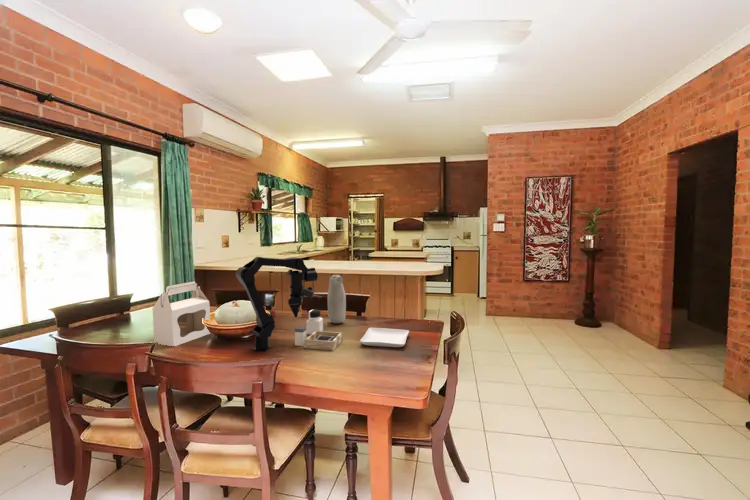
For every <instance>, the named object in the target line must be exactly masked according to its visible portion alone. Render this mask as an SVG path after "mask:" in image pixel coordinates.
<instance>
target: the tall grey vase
mask: <svg viewBox="0 0 750 500" xmlns="http://www.w3.org/2000/svg"><path fill="white" fill-rule="evenodd" d="M343 281H344V279H343V277H342V276H341V275H340V274H332V275H331V276H330V278H329V287H328V291H327V315H328V316H327V317H328V319H329V321H330V322H331V323H332V324H335V325H336V324H337V325H338V324H341V323H343V322H344V321H345V319H346V314H347V294H346V291H345V287H344V283H343Z"/></svg>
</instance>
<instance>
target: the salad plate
mask: <svg viewBox="0 0 750 500" xmlns="http://www.w3.org/2000/svg"><path fill="white" fill-rule="evenodd" d="M409 333H410V330H408V329H401V328H400V329H398V328H388V327H387V328H385V327H384V328H383V327H368V329H367V330H366V332H365V333H364V334H363V336H362V337H361V339H360V340H359V343H360V344H362V345H365V346H370V347H382V348H402V347H404V346H405V344H406V341H407V338H408V335H409Z"/></svg>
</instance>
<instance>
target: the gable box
mask: <svg viewBox="0 0 750 500" xmlns="http://www.w3.org/2000/svg"><path fill="white" fill-rule="evenodd" d="M164 289H165V290H164V292H162V293H160V296H159V297H158V299H157V301H156V302H155V304H154V306H153V307H152V322H153V325H152V327H153V340H154V341H153V343H154V342H158V344H157V345H160V344H161V346H166V345H167V346H166V347H171V346H172V347H173V346H175V347H178V346H180V345H182V344H185V343H188V342H191V341H193V340H194V341H195V340H196V339H200V338H202V337H205V336H207V335H210V334H211V333H210V332H209V330H208V329H207V327H206V326H205V325H203V324H202V318H204V320H210V321H211V310H210V309H211V308H210V307H211V305H210V300H209V299H208V297H207V296H206V295H205V293H204V292H203V290H201V287H200V285H199V286H198V283H196V281H193V280H192V281H188V282H181V283H177V284H171V285H167V286H166V287H165V288H164ZM186 292H192V294H191V297H190V298H185V299H182V300H177V301H173V302H171V301H170V298H169V296H172V295H176V294H177V295H178V294H182V293H186ZM182 315H186V316H185V323H186V325H185V326H184V327H180V326H179V323H178V319H179V317H181V316H182Z"/></svg>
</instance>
